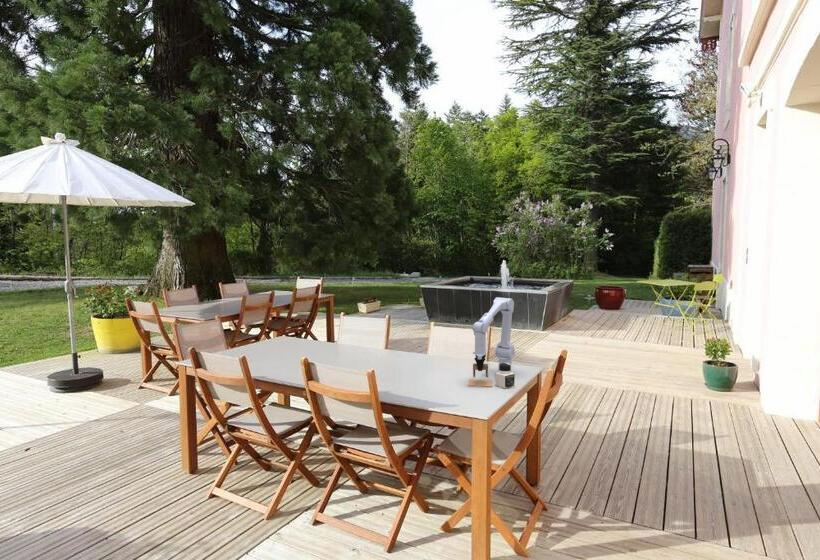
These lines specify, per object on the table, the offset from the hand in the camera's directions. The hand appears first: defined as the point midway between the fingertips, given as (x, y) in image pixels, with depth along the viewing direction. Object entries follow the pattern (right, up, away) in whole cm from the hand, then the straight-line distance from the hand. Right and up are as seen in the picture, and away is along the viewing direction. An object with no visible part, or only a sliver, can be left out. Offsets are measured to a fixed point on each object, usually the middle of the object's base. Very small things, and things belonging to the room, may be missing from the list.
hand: (480, 369), depth 282 cm
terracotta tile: (0, -8, +1) cm, 8 cm away
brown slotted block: (0, -4, 0) cm, 4 cm away
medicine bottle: (+12, -8, -4) cm, 15 cm away
